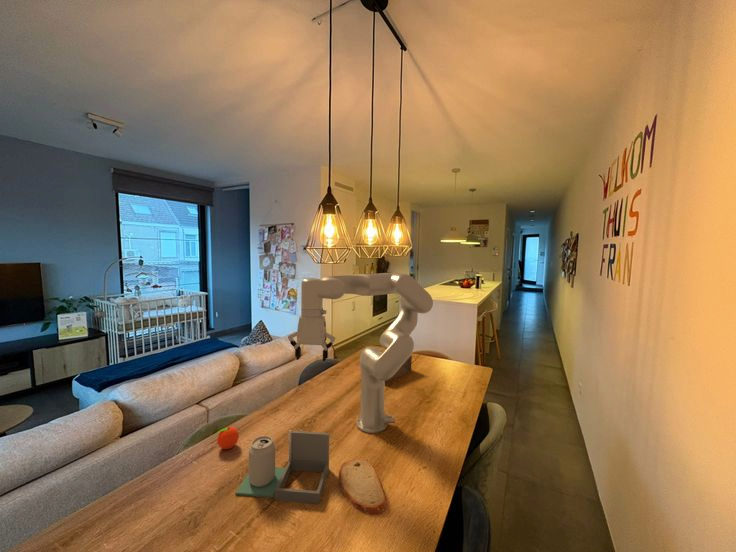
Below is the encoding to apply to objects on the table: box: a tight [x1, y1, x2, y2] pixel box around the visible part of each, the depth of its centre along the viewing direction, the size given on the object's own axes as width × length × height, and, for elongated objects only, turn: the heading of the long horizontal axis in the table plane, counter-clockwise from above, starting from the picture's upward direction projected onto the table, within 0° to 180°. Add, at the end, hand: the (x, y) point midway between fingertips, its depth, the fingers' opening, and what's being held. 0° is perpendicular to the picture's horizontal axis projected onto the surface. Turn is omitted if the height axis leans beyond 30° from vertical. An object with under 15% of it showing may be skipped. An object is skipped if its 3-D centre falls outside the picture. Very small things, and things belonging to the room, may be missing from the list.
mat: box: [235, 466, 286, 499], centre depth 91 cm, size 11×11×1 cm
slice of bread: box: [338, 457, 388, 516], centre depth 91 cm, size 18×18×4 cm
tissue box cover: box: [385, 355, 413, 383], centre depth 174 cm, size 26×14×10 cm, turn 133°
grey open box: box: [274, 429, 330, 505], centre depth 90 cm, size 13×14×13 cm
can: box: [248, 435, 276, 487], centre depth 91 cm, size 8×8×12 cm
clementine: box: [213, 426, 240, 450], centre depth 106 cm, size 8×7×7 cm
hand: (311, 359), depth 110 cm, fingers open, 9 cm apart
